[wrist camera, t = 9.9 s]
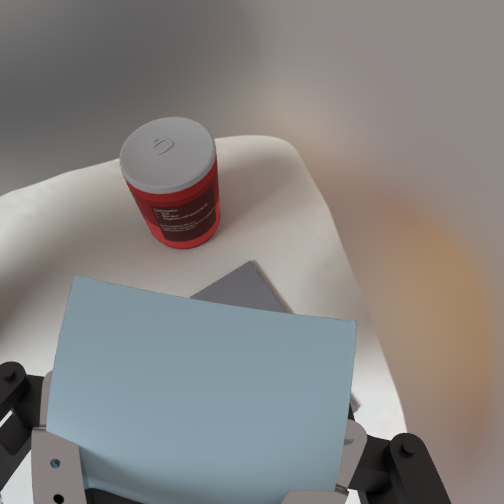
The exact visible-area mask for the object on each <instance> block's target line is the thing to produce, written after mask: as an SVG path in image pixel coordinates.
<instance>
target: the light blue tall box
mask: <svg viewBox="0 0 504 504" xmlns="http://www.w3.org/2000/svg"><path fill="white" fill-rule="evenodd" d="M355 339H356V321H350V320H340V319H330V318H321V317H313V316H304V315H296V314H288V313H281V312H273V311H266V310H259V309H252V308H245V307H238V306H232V305H225V304H219V303H213V302H207V301H201V300H195V299H189V298H184V297H178V296H173V295H167V294H162V293H157V292H151V291H146V290H141V289H136V288H131V287H127V286H122V285H117V284H112V283H108V282H103V281H99V280H94V279H90V278H85V277H81V276H77V275H75V277H74V281H73V284H72V287H71V291H70V295H69V298H68V302H67V306H66V310H65V314H64V318H63V322H62V326H61V331H60V335H59V340H58V345H57V350H56V355H55V361H54V367H53V373H52V379H51V386H50V394H49V402H48V412H47V424H46V431H48V432H51V433H53V434H56V435H58V436H60V437H62V438H64V439H67V440H69V441H71V442H73V443H76V444H78V445H79V449H80V453H81V456H82V460H83V463H84V467H85V470H86V473H87V477H88V483H89V488H95V489H100V490H104V491H107V492H110V493H113V494H115V495H118V496H121V497H124V498H127V499H130V500H133V501H137V502H140V503H143V504H281V502H282V501H283V499H284V498H285V496H286V495H287V494H288V492H289V491H290V490H325V491H335V486H336V482H337V477H338V472H339V467H340V461H341V456H342V450H343V444H344V438H345V432H346V425H347V418H348V411H349V403H350V395H351V386H352V376H353V365H354V353H355Z"/></svg>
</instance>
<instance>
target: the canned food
mask: <svg viewBox="0 0 504 504" xmlns="http://www.w3.org/2000/svg"><path fill="white" fill-rule="evenodd" d="M119 158H120V166H121V170H122V173H123V176H124V178H125V180H126V182H127V185H128V187H129V189H130V191H131V193H132V195H133V197H134V199H135V201H136V203H137V205H138V207H139V209H140V211H141V213H142V215H143V217H144V219H145V221H146V223H147V225H148V227H149V229H150V230H151V232H152V234H153V235H154V236H155V237H156V238H157V239H158V240H159V241H160V242H162V243H164V244H165V245H167V246H169V247H172V248H176V249H190V248H194V247H197V246H199V245H202V244H203V243H204V242H206V241H207V240H208V239H209V238H210V237H211V236H212V235H213V233H214V232H215V230H216V228H217V226H218V223H219V219H220V205H219V188H218V170H217V155H216V146H215V141H214V138H213V136H212V134H211V133H210V131H209V130H208V129H207V128H206V127H205V126H204V125H202V124H201V123H199V122H197V121H195V120H192V119H189V118H183V117H166V118H161V119H156V120H154V121H151V122H149V123H146V124H145V125H143V126H141V127H139V128H138V129H137V130H135V131H134V132H133V133H132V134H131V135H130V136H129V137H128V138H127V140H126V141H125V143H124V144H123V147H122V149H121V152H120V157H119Z"/></svg>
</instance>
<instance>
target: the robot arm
mask: <svg viewBox="0 0 504 504" xmlns="http://www.w3.org/2000/svg"><path fill="white" fill-rule="evenodd" d="M52 373H53V370H52V371H50V372H49V373H47V375H46V376H45V377H42V376H34V375H27V374H26V372H25V369H24V367H23V366H22V365H21V364H19V363H17V362H5V363H3V364H1V365H0V421H1V420H2V419H3V418H4V417H5V416H6V414H7V413H8V412H9V411H10V410H11V411H12V415H11V416H10V417H9V418H8V419H7V420H6V422H5V423H4V424H3V425H2V426H1V427H0V492H1V490H2V489H3V487H4V486H5V484H6V483H7V482H8V480H9V479H10V477H11V476H12V474H13V473H14V472H15V470H16V469H17V468H18V466H19V465H20V463H21V462H22V461H23V459H24V458H25V457H26V455H27V454H28V452H29V451H30V450H31V466H32V488H33V501H34V504H143V503H140V502H137V501H133V500H130V499H127V498H124V497H121V496H118V495H115V494H113V493H110V492H107V491H104V490H100V489H95V488H89V483H88V477H87V473H86V470H85V467H84V463H83V460H82V456H81V453H80V449H79V445H78V444H76V443H73V442H71V441H69V440H67V439H64V438H62V437H60V436H58V435H56V434H53V433H51V432H48V431H46V424H47V412H48V402H49V394H50V386H51V379H52ZM347 488H348V489H353V490H357V491H358V495H359V498H360V502H361V504H451V502H450V500H449V497H448V495H447V492H446V490H445V488H444V485H443V483H442V481H441V479H440V476H439V474H438V472H437V470H436V468H435V465H434V463H433V461H432V459H431V457H430V455H429V453H428V450H427V448H426V446H425V444H424V443H423V441H422V440H421V439H420V438H418V437H417V436H415V435H414V434H410V433H401V434H398V435H396V436H395V437H394V438H393V439H392V440H391V441H390V440H385V439H381V438H376V437H372V436H370V435H367V434H366V431H365V430H364V428H363V427H362V426H361V425H360V424H359V423H357V422H355V420H354V415H353V411H352V407H351V403H349V411H348V418H347V425H346V432H345V438H344V444H343V450H342V456H341V461H340V467H339V472H338V477H337V482H336V486H335V491H325V490H290V491H289V492H288V494H287V495H286V496H285V498H284V499H283V501H282V502H281V504H345V502H346V500H347V497H348V494H349V491H347ZM0 504H3V502H2V498H1V493H0Z"/></svg>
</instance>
